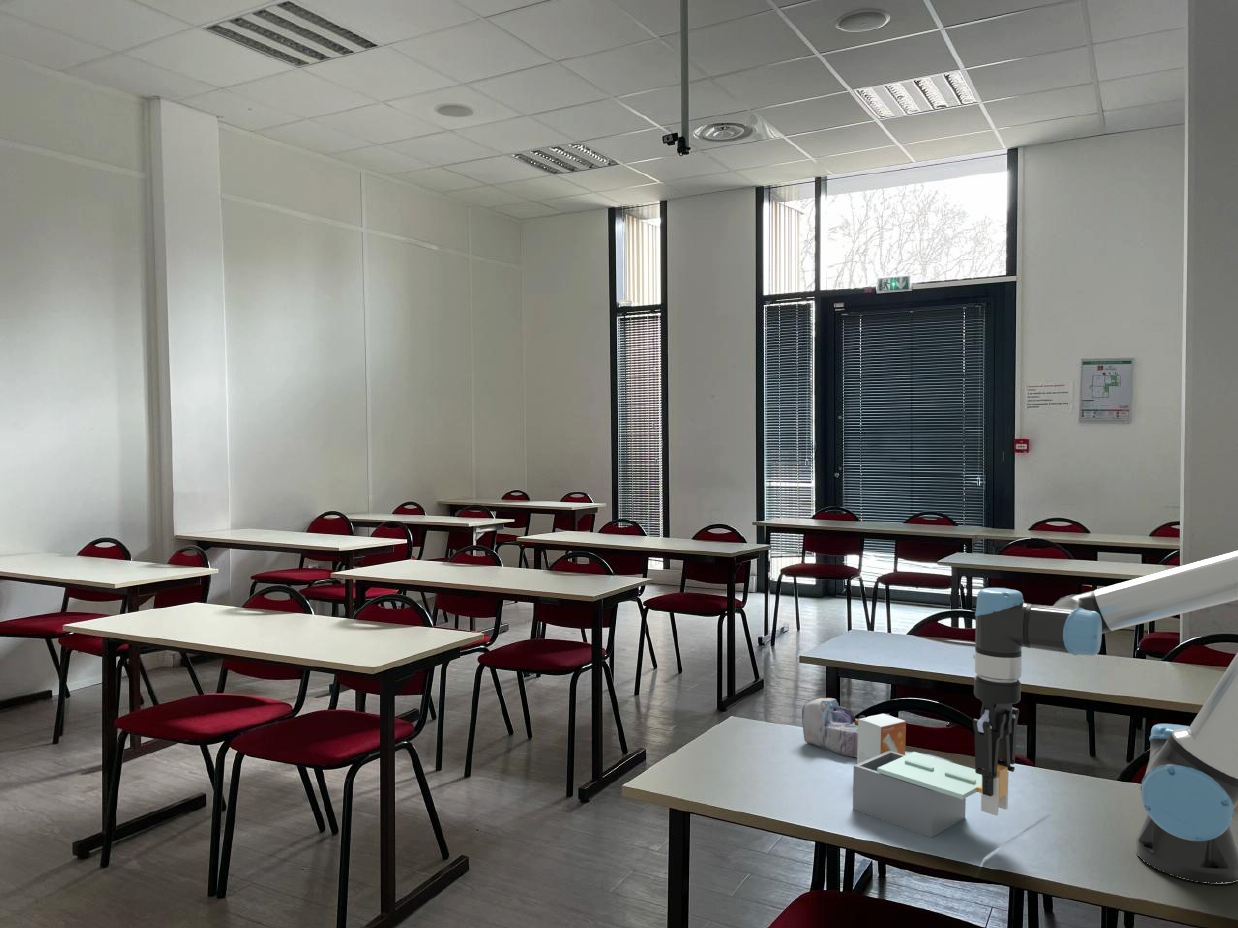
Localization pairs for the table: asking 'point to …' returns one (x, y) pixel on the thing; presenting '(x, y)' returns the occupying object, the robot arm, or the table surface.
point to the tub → (903, 799)
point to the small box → (880, 736)
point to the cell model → (830, 726)
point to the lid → (941, 775)
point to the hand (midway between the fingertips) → (994, 809)
